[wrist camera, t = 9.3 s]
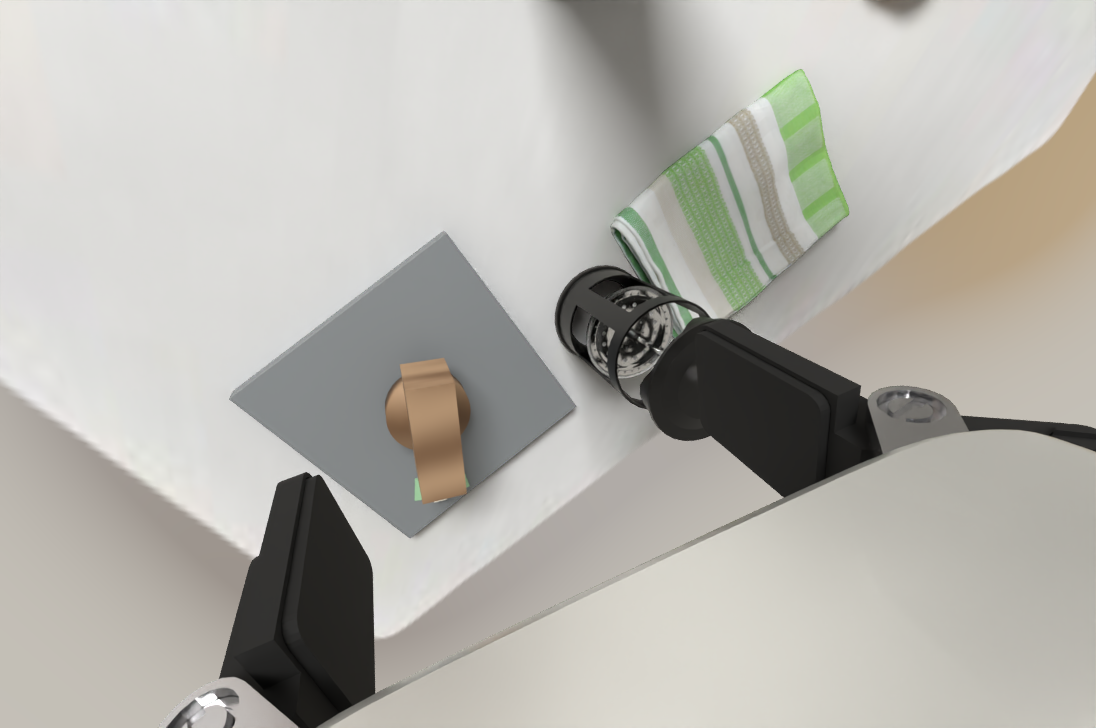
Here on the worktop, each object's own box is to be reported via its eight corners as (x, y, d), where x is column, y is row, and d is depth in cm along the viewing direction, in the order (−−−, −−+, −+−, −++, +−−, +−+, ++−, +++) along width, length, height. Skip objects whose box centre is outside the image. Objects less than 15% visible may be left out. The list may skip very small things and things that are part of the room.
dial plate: (443, 230, 39) (447, 233, 38) (570, 399, 50) (577, 407, 48) (233, 390, 38) (228, 400, 37) (408, 528, 49) (410, 539, 47)
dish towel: (600, 219, 44) (619, 224, 41) (790, 63, 45) (821, 57, 42) (676, 348, 53) (696, 360, 50) (834, 216, 53) (862, 220, 50)
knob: (375, 358, 39) (378, 395, 33) (460, 346, 41) (478, 378, 35) (401, 504, 45) (408, 558, 39) (474, 487, 47) (492, 535, 41)
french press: (530, 322, 45) (666, 454, 25) (591, 240, 44) (785, 309, 24) (612, 381, 51) (776, 526, 31) (668, 309, 50) (875, 411, 30)
